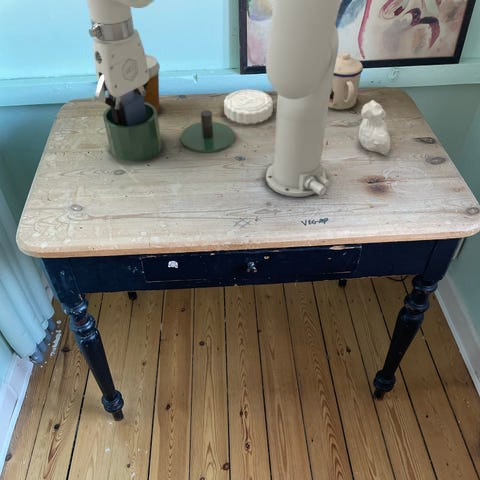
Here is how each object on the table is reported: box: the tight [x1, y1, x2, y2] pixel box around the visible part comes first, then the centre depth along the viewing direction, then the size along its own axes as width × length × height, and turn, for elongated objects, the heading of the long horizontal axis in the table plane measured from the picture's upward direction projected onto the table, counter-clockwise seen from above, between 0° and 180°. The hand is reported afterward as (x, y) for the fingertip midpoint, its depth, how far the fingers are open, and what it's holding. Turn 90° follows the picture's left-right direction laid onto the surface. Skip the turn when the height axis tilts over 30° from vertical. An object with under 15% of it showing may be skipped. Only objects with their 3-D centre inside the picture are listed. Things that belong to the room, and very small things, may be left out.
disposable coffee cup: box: [132, 53, 161, 113], centre depth 118 cm, size 10×10×12 cm
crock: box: [102, 102, 163, 163], centre depth 109 cm, size 11×11×8 cm
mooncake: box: [223, 88, 274, 125], centre depth 120 cm, size 12×12×4 cm
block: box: [113, 91, 147, 126], centre depth 105 cm, size 5×5×5 cm
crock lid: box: [180, 109, 236, 154], centre depth 112 cm, size 12×12×7 cm
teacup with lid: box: [328, 51, 364, 110], centre depth 120 cm, size 12×9×12 cm
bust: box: [358, 99, 391, 156], centre depth 108 cm, size 12×8×11 cm
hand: (130, 117), depth 106 cm, fingers closed on block, 5 cm apart
